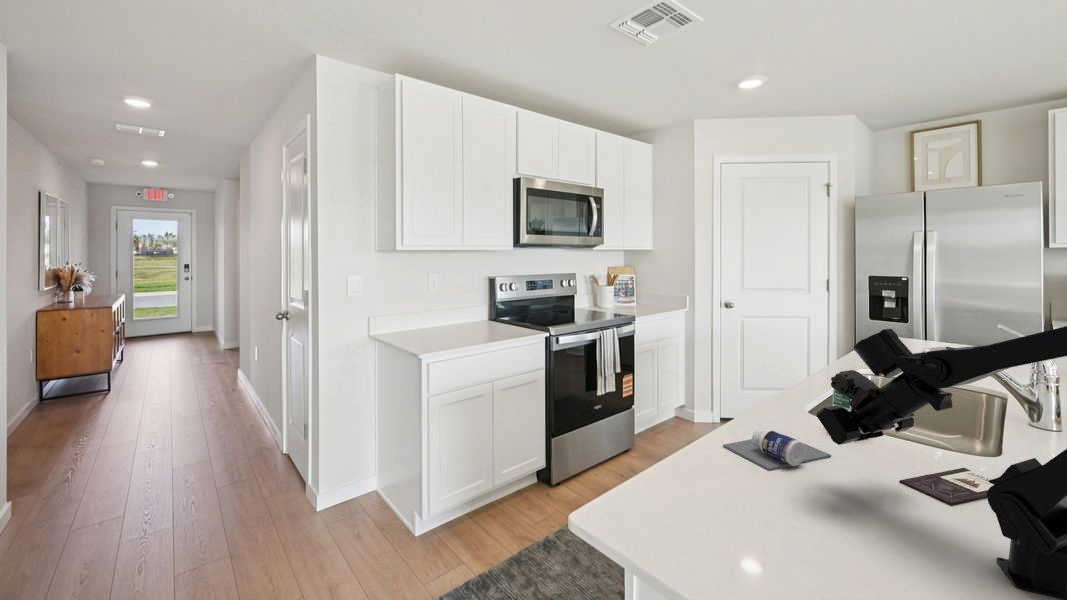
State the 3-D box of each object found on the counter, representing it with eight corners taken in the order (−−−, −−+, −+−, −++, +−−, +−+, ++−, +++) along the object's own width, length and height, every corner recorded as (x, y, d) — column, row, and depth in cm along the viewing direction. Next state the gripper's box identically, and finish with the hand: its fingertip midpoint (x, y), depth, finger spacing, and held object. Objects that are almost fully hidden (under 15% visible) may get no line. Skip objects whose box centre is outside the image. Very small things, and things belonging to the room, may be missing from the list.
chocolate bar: (899, 480, 92) (963, 467, 97) (899, 484, 92) (963, 472, 98) (951, 503, 84) (1019, 488, 89) (951, 508, 84) (1018, 493, 89)
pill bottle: (785, 460, 96) (745, 443, 105) (799, 470, 99) (759, 453, 107) (796, 436, 97) (756, 421, 106) (809, 447, 99) (769, 431, 108)
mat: (830, 457, 104) (831, 454, 104) (769, 470, 97) (769, 468, 97) (780, 435, 116) (780, 433, 116) (722, 446, 109) (722, 444, 109)
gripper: (899, 355, 88) (840, 397, 100) (828, 364, 82) (773, 408, 93) (946, 408, 82) (877, 447, 93) (873, 423, 75) (808, 462, 86)
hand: (833, 439), depth 91 cm, fingers closed
